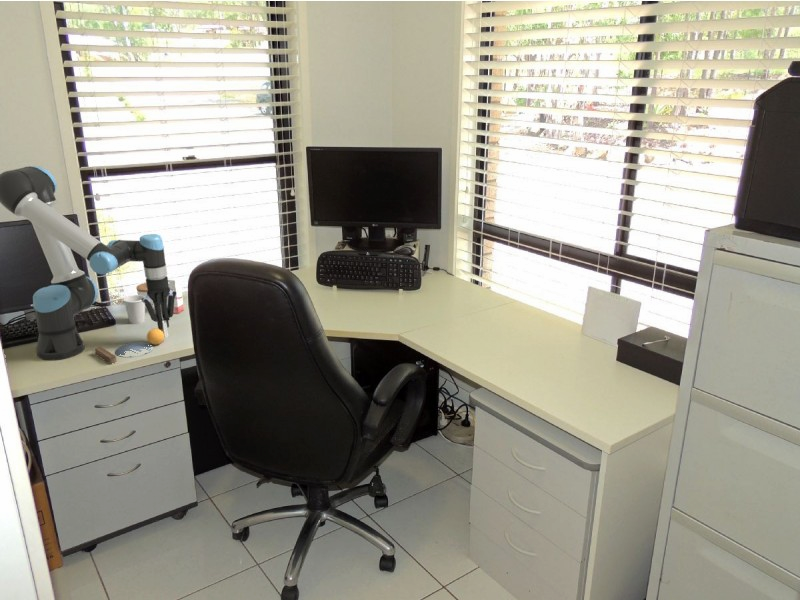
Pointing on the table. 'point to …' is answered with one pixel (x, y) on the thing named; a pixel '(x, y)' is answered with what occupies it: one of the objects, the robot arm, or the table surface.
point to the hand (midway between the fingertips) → (164, 336)
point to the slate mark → (133, 347)
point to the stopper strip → (105, 355)
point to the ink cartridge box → (178, 298)
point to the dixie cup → (135, 308)
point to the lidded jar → (143, 291)
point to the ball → (155, 336)
